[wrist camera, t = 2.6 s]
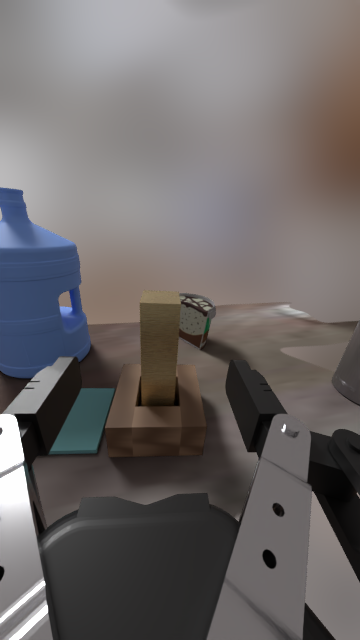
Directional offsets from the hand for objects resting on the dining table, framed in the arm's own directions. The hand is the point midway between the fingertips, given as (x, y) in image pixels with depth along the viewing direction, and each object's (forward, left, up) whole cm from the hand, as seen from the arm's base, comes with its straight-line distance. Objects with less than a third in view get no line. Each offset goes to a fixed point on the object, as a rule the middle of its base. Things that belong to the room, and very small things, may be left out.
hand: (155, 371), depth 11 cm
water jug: (+22, -27, -18) cm, 39 cm away
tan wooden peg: (0, -12, -18) cm, 22 cm away
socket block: (0, -12, -18) cm, 22 cm away
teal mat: (+12, -12, -18) cm, 25 cm away
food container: (-8, -35, -18) cm, 40 cm away
